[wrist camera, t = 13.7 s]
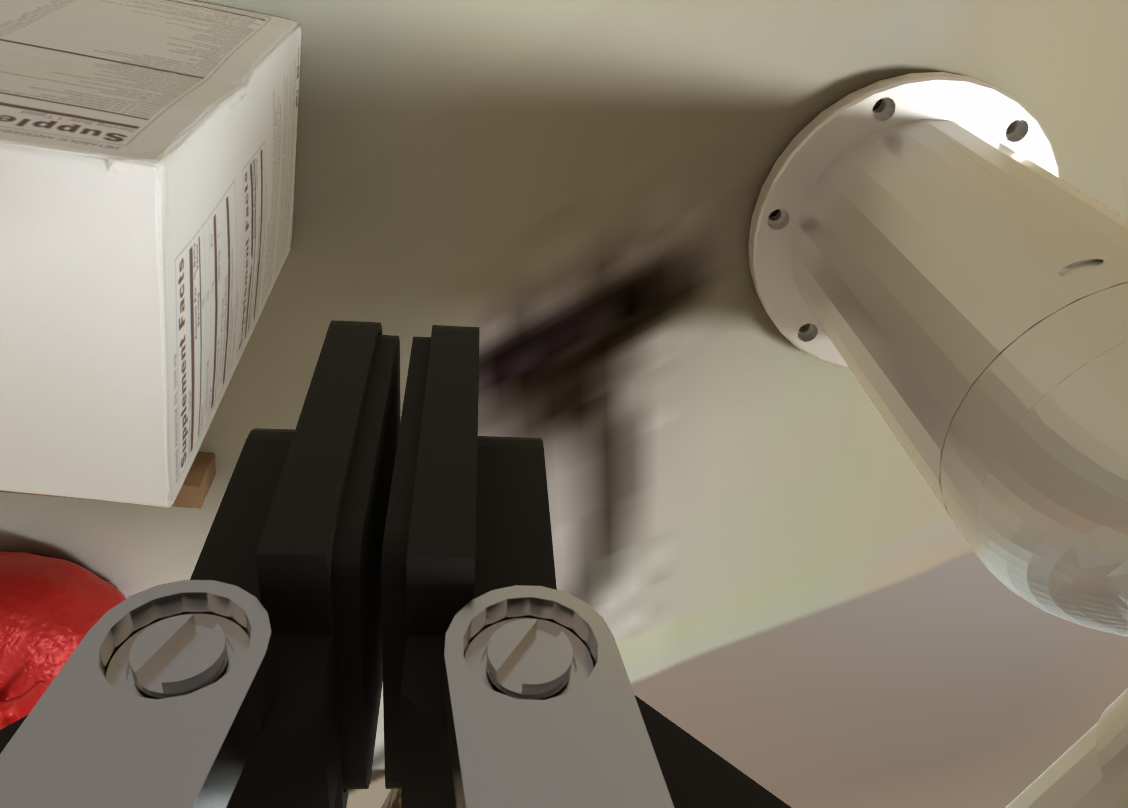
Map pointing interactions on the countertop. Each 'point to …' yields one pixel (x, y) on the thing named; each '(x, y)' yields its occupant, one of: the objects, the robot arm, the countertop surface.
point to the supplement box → (134, 231)
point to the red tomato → (43, 623)
